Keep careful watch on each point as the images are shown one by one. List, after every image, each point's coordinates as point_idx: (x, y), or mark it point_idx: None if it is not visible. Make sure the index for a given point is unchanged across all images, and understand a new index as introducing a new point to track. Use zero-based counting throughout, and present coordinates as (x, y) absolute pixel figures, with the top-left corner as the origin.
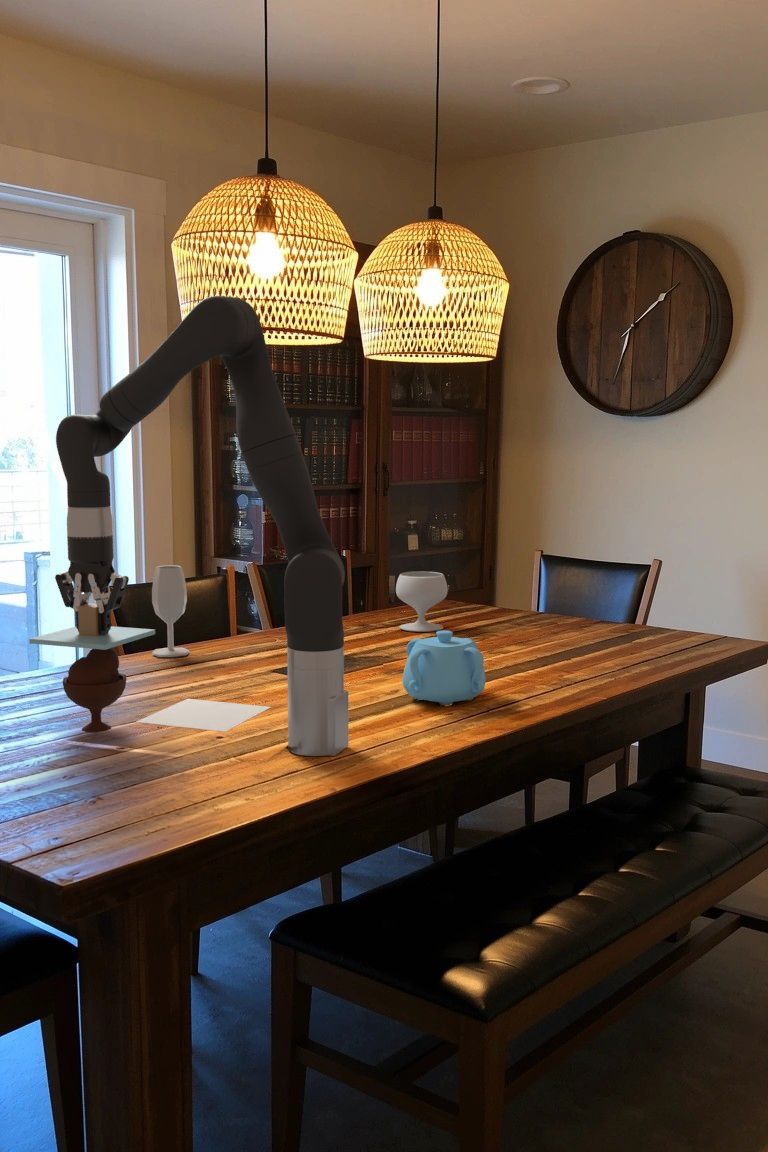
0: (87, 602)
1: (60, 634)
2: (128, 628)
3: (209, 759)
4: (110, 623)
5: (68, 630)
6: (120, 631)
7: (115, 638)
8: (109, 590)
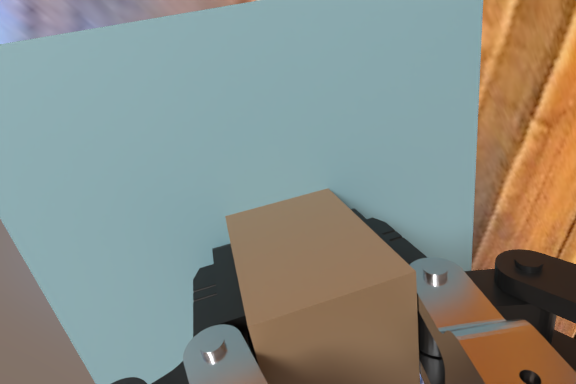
0: (257, 368)
1: (159, 345)
2: (330, 19)
3: (504, 148)
4: (396, 234)
5: (82, 268)
6: (352, 121)
7: (436, 250)
8: (565, 373)
